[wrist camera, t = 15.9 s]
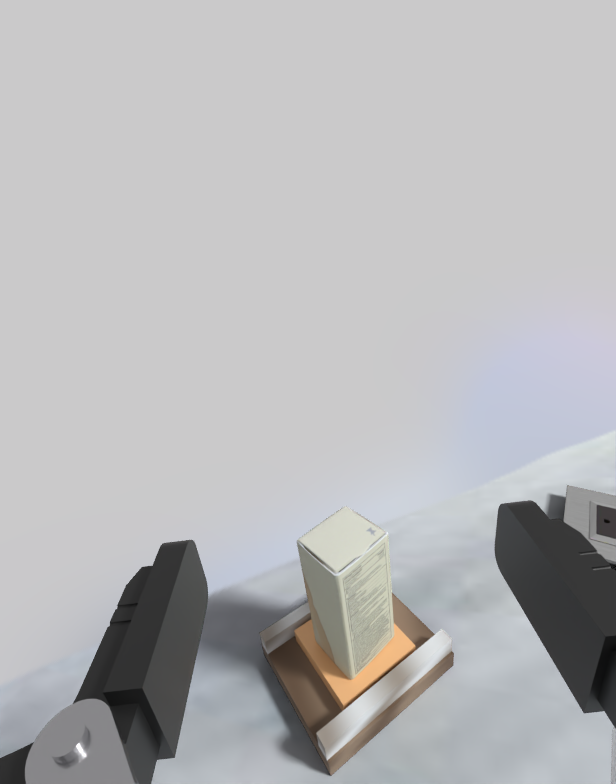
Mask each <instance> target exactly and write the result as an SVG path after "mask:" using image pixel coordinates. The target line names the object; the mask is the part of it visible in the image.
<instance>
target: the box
mask: <svg viewBox="0 0 616 784" xmlns="http://www.w3.org/2000/svg"><path fill="white" fill-rule="evenodd" d="M297 545H298V551H299V556H300V561H301V566H302V571H303V577H304V582H305V588H306V593H307V598H308V603H309V608H310V614H311V619H312V624H313V630H314V635H315V640H316V642H317V643H318V644H319V646H320V647H321V648H322V649H323V650H324V652H325V653H326V654H327V655H328V656H329V657H330V659H331V660H332V661H333V662H334V663H335V664H336V665H337V666H338V668H339V669H340V670H341V671H342V672H343V673H344V674H345V675H346V676H347V677H348V678H349V679H350V680H352V679H354V678H355V677H356V676H357V675H358V674H359V673H360V672H361V671H362V670H363V669H364V668H365V667H366V666H367V665H368V664H369V663H370V662H371V661H372V660H373V659H374V658H375V657H376V656H377V655H378V653H379V652H380V651H381V650H382V649H383V648H384V647H385V646H386V645H387V644H388V642H389V641H390V640H391V639H392V638H393V637H394V620H393V605H392V589H391V572H390V557H389V541H388V533H387V532H386V531H384V530H383V529H381V528H380V527H378V526H377V525H375V524H374V523H372V522H371V521H369V520H368V519H366V518H365V517H363V516H361V515H360V514H358V513H357V512H355V511H353V510H352V509H350V508H349V507H347V506H345V507H343V508H341V509H340V510H338V511H337V512H336V513H334V514H333V515H331V516H330V517H328V518H327V519H326V520H324V521H323V522H321V523H320V524H319V525H317V526H316V527H314V528H313V529H312V530H310V531H309V532H308V533H306V534H305V535H304V536H302V537H301V538H299V539H298V540H297Z"/></svg>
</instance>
